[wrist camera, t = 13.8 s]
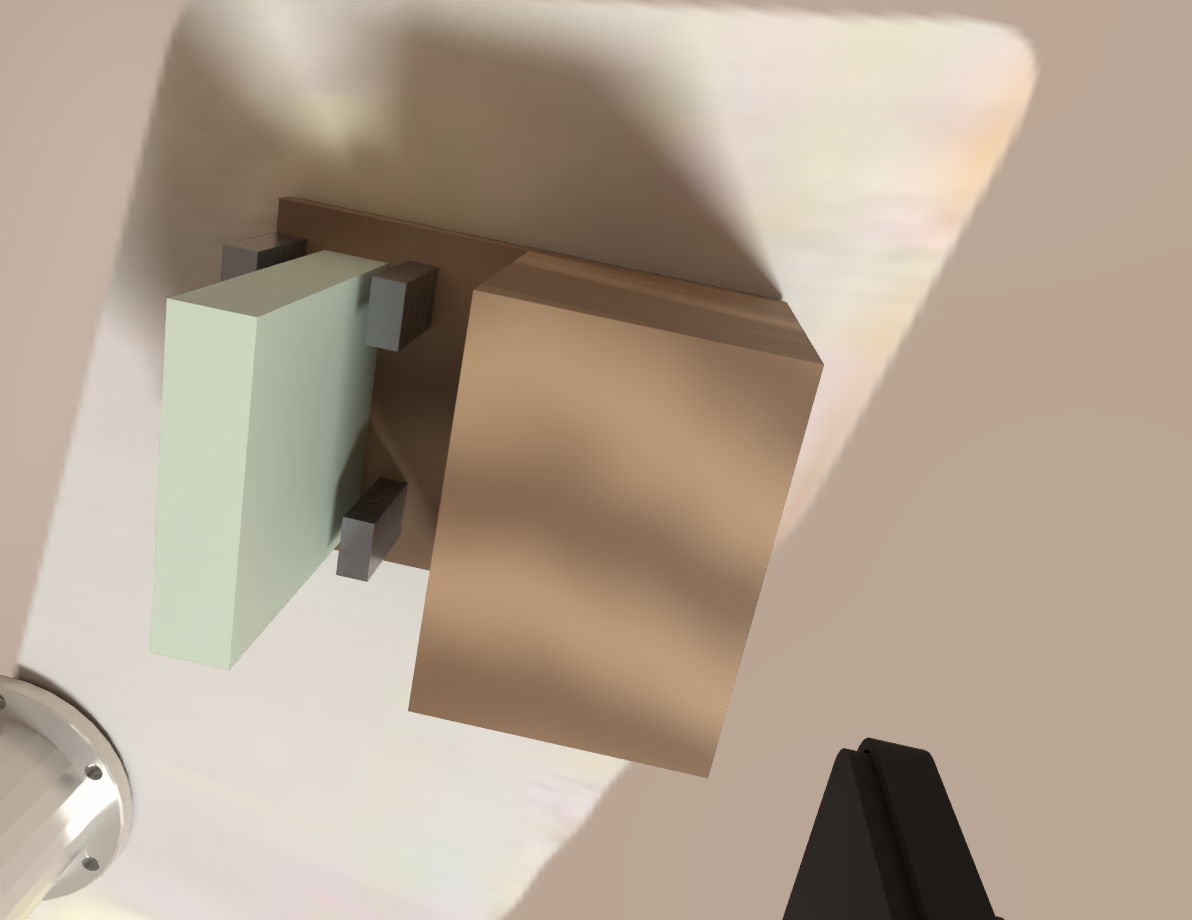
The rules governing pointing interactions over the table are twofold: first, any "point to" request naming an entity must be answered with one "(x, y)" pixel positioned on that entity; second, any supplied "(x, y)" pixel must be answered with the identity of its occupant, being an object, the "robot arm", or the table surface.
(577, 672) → the cabinet
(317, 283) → the door
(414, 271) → the hinge clips
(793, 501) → the table surface
